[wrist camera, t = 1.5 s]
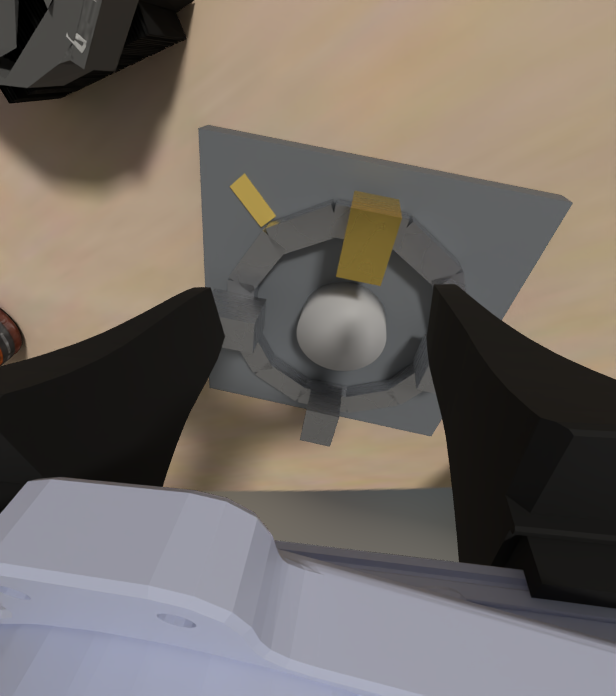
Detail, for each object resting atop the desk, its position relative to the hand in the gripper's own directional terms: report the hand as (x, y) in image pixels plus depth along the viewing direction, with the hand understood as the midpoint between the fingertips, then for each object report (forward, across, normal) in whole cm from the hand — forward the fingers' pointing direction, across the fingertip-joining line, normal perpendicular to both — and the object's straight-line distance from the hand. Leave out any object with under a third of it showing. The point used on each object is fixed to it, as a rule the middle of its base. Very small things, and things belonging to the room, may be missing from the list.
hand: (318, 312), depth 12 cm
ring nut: (+8, 0, +6) cm, 10 cm away
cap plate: (+9, 0, +6) cm, 11 cm away
